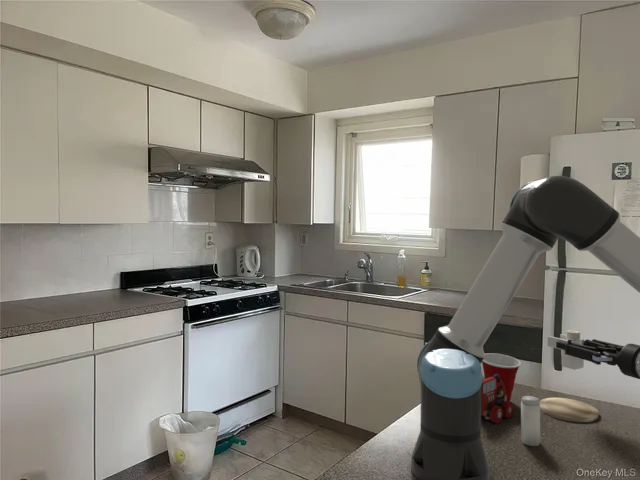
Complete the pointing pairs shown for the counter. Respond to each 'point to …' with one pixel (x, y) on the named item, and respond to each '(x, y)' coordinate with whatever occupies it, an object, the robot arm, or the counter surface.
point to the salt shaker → (530, 421)
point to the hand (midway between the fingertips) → (555, 340)
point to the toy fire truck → (495, 399)
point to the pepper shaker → (570, 360)
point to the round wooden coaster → (569, 409)
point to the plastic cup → (501, 369)
